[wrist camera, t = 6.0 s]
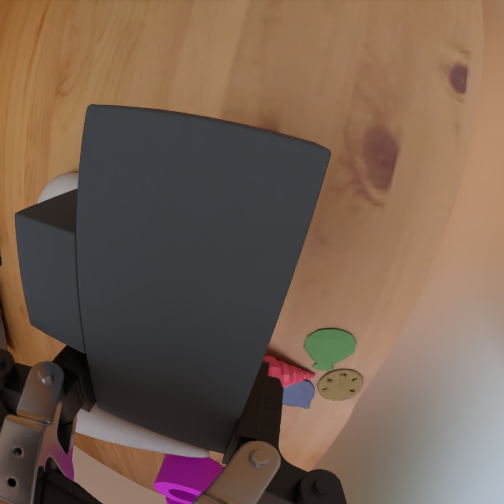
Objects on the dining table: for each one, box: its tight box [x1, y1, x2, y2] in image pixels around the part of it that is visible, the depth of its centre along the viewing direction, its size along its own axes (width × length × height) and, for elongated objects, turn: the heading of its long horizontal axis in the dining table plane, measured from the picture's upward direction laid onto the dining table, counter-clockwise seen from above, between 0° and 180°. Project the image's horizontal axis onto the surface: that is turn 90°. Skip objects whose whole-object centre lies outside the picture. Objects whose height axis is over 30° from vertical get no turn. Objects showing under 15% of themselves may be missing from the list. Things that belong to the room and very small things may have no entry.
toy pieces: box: [263, 329, 363, 409], centre depth 26 cm, size 12×11×4 cm
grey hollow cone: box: [75, 403, 209, 458], centre depth 33 cm, size 8×9×26 cm
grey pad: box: [15, 104, 331, 454], centre depth 9 cm, size 10×8×4 cm
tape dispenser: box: [154, 454, 223, 504], centre depth 37 cm, size 16×10×6 cm, turn 171°
